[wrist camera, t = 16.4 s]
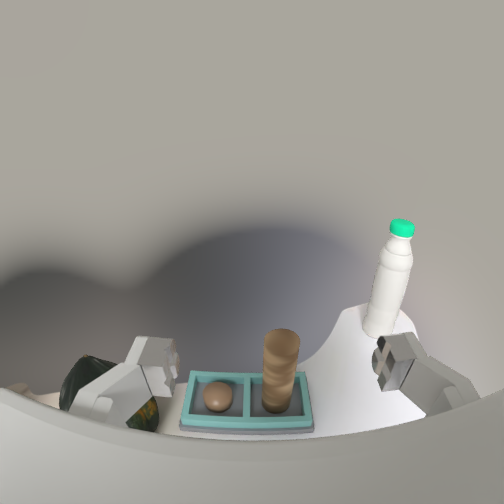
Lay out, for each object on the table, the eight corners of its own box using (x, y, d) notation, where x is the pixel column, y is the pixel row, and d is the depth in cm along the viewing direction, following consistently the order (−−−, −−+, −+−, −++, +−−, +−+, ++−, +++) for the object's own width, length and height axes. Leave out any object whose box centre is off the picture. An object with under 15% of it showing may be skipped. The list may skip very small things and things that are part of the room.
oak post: (261, 413, 39) (264, 353, 33) (261, 391, 43) (263, 328, 37) (291, 413, 39) (302, 352, 33) (288, 391, 43) (297, 328, 37)
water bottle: (355, 326, 59) (377, 217, 49) (377, 317, 62) (400, 214, 51) (376, 345, 53) (406, 230, 43) (397, 333, 56) (428, 226, 45)
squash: (123, 482, 23) (124, 372, 27) (43, 438, 26) (42, 343, 30) (170, 450, 36) (175, 365, 41) (97, 424, 39) (100, 347, 43)
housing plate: (180, 430, 37) (175, 418, 35) (190, 379, 47) (187, 365, 45) (313, 432, 37) (317, 420, 35) (305, 380, 46) (307, 366, 45)
